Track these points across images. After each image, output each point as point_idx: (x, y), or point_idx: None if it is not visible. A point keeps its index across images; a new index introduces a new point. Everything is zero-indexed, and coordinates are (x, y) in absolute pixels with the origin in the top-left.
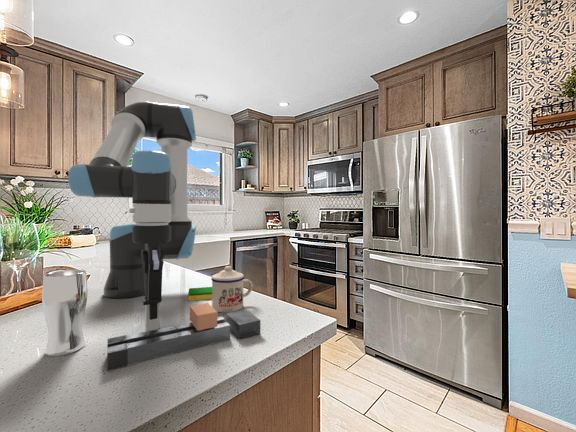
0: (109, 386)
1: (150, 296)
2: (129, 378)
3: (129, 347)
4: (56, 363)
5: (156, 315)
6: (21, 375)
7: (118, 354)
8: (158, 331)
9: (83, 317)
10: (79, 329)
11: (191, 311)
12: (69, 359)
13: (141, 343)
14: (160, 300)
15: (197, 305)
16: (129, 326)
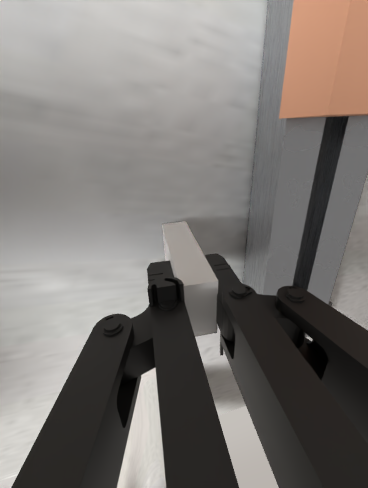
0: (350, 296)
1: (327, 360)
2: (352, 272)
3: (328, 300)
4: (214, 378)
5: (225, 263)
6: (228, 401)
7: None
8: (289, 242)
9: (160, 439)
10: None
11: (355, 114)
12: (210, 367)
13: (327, 279)
14: (308, 295)
15: (353, 55)
16: (59, 300)
